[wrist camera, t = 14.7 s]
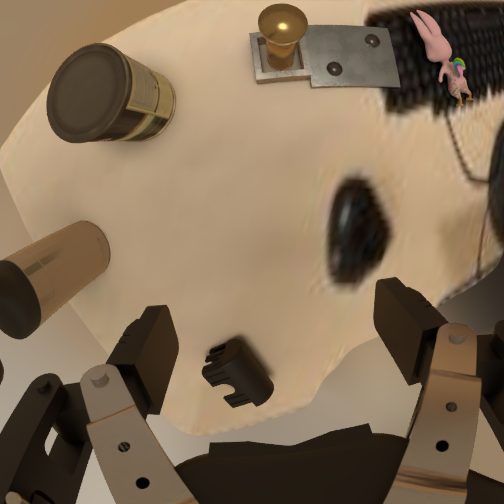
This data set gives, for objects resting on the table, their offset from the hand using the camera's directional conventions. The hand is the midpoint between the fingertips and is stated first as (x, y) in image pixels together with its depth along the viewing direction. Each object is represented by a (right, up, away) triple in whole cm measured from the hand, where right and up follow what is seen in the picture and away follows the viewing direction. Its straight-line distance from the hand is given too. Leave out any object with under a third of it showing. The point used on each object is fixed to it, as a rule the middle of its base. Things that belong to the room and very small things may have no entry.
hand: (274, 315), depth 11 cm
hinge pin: (+3, +27, +20) cm, 34 cm away
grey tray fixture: (+9, +27, +20) cm, 35 cm away
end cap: (-2, -16, +36) cm, 39 cm away
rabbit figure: (+26, +30, +18) cm, 43 cm away
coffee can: (-16, +22, +24) cm, 36 cm away
